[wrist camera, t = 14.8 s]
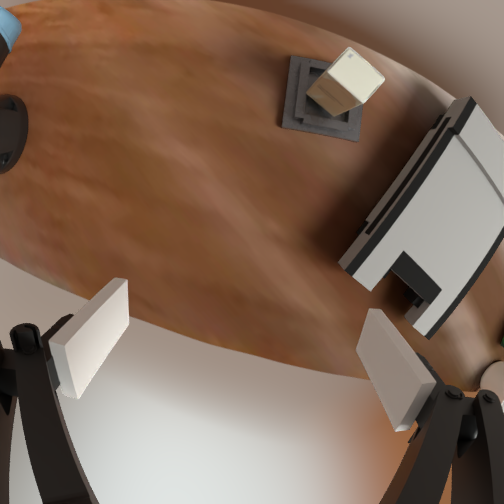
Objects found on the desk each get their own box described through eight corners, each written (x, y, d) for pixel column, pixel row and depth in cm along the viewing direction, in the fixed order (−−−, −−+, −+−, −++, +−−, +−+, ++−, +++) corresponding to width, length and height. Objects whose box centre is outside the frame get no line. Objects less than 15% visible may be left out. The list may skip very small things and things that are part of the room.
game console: (331, 254, 45) (346, 273, 37) (441, 103, 38) (470, 96, 30) (411, 320, 48) (432, 343, 40) (504, 186, 41) (532, 192, 33)
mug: (493, 356, 52) (518, 380, 41) (507, 362, 53) (529, 385, 42) (465, 394, 55) (485, 422, 44) (480, 398, 56) (499, 423, 45)
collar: (281, 128, 39) (283, 125, 37) (290, 57, 36) (292, 50, 34) (356, 142, 40) (363, 140, 37) (363, 73, 37) (370, 68, 34)
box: (304, 93, 35) (323, 69, 25) (324, 72, 34) (347, 43, 24) (335, 118, 36) (364, 104, 26) (354, 97, 35) (387, 78, 25)
